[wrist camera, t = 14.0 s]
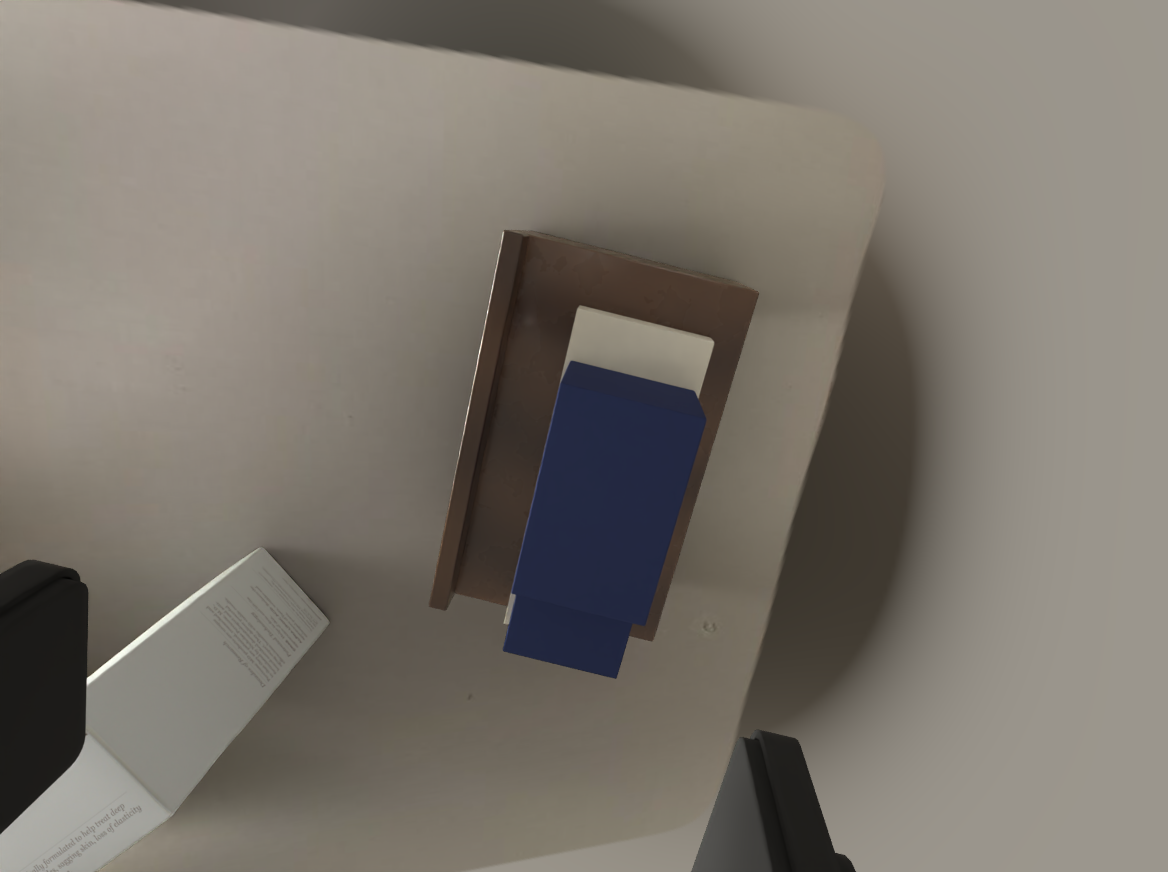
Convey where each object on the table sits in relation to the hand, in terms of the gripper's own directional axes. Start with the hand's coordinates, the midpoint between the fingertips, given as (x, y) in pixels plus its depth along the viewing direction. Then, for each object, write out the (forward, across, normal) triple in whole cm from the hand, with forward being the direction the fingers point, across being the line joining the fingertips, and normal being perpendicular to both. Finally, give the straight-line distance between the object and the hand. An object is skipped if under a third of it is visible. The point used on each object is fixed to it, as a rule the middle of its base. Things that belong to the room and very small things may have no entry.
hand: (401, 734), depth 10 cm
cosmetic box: (+26, +14, +18) cm, 35 cm away
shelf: (+26, -2, +2) cm, 26 cm away
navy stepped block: (+20, -3, +3) cm, 21 cm away
